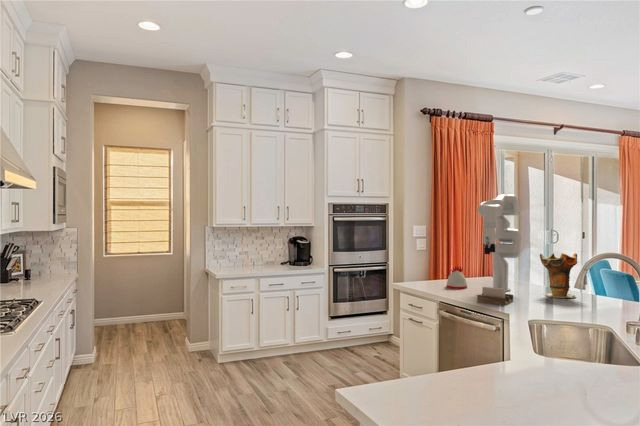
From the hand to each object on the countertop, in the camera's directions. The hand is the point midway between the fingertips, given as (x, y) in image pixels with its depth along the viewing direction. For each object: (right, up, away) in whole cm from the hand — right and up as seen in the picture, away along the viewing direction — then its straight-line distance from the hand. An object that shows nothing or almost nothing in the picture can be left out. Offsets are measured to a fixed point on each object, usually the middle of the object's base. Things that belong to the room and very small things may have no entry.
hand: (489, 253), depth 277 cm
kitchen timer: (-9, -28, +39) cm, 48 cm away
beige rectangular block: (-3, -26, -13) cm, 29 cm away
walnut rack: (-1, -28, -10) cm, 30 cm away
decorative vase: (+46, -28, +8) cm, 55 cm away
